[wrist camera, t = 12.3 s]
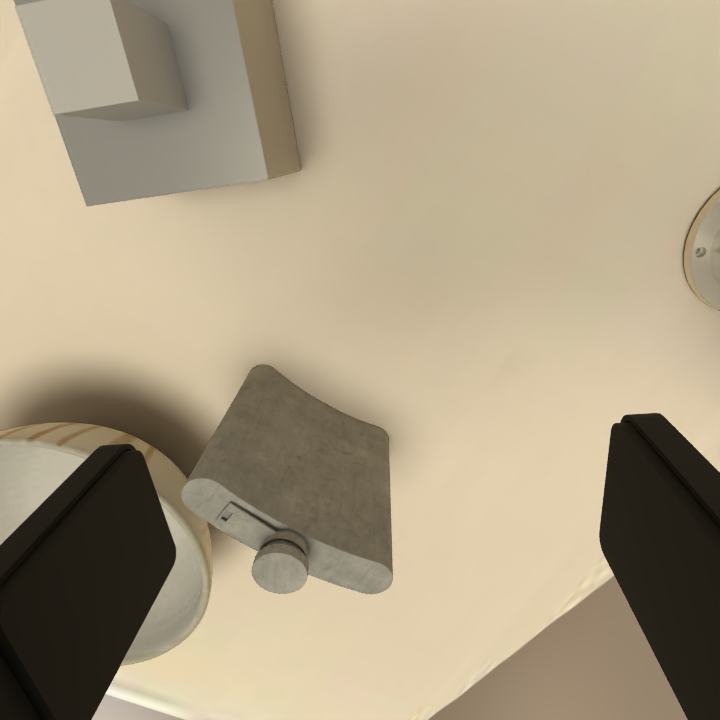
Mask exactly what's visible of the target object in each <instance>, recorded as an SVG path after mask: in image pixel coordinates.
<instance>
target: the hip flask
mask: <svg viewBox="0 0 720 720" xmlns="http://www.w3.org/2000/svg"><path fill="white" fill-rule="evenodd" d="M181 497H182V500H183V502H184V504H185V505H186V507H187V508H188V509H189V510H191V511H192V512H193V513H195V514H196V515H198V516H199V517H201V518H202V519H204V520H205V521H207V522H208V523H210V524H211V525H213V526H214V527H216V528H218V529H219V530H221V531H222V532H224V533H226V534H228V535H229V536H231V537H233V538H234V539H236V540H238V541H240V542H241V543H243V544H245V545H247V546H249V547H251V548H253V549H255V550H256V551H258V553H257V555H256V556H255V560H254V562H253V566H252V576H253V578H254V580H255V581H256V583H257V584H258V585H259V586H260V587H262V588H263V589H265V590H267V591H269V592H273V593H278V594H287V593H292V592H295V591H297V590H299V589H300V588H302V587H303V585H304V584H305V583H306V581H307V576H308V574H309V575H311V576H314V577H316V578H319V579H321V580H324V581H327V582H330V583H332V584H335V585H338V586H341V587H345V588H348V589H351V590H354V591H358V592H361V593H365V594H377V593H380V592H383V591H385V590H386V589H388V588H389V587H390V585H391V584H392V581H393V568H392V534H391V501H390V467H389V438H388V435H387V433H386V432H385V431H384V430H383V429H382V428H380V427H377V426H374V425H371V424H368V423H365V422H363V421H360V420H358V419H355V418H353V417H351V416H348V415H346V414H344V413H342V412H340V411H338V410H336V409H334V408H332V407H330V406H328V405H327V404H325V403H323V402H321V401H320V400H318V399H316V398H314V397H313V396H311V395H309V394H308V393H306V392H305V391H303V390H302V389H300V388H299V387H297V386H296V385H294V384H293V383H292V382H290V381H289V380H288V379H286V378H285V377H284V376H282V375H281V374H280V373H279V372H278V371H276V370H275V369H274V368H273V367H271V366H268V365H258V366H256V367H254V368H253V369H252V370H251V371H250V373H249V374H248V376H247V378H246V380H245V381H244V383H243V385H242V386H241V388H240V390H239V392H238V393H237V395H236V397H235V399H234V400H233V402H232V404H231V405H230V407H229V409H228V411H227V412H226V414H225V416H224V417H223V419H222V421H221V423H220V424H219V426H218V428H217V430H216V431H215V433H214V435H213V436H212V438H211V440H210V442H209V443H208V445H207V447H206V449H205V450H204V452H203V454H202V455H201V457H200V459H199V461H198V462H197V464H196V466H195V468H194V469H193V471H192V473H191V474H190V476H189V478H188V480H187V481H186V483H185V485H184V486H183V489H182V492H181Z"/></svg>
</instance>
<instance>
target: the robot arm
mask: <svg viewBox="0 0 720 720" xmlns="http://www.w3.org/2000/svg"><path fill="white" fill-rule="evenodd" d="M684 270H685V274H686V278H687V281H688V283H689V285H690V287H691V289H692V291H693V292H694V293H695V294H696V295H697V296H698V297H699V299H700V300H702V301H703V302H705V303H706V304H708V305H709V306H711V307H712V308H715V309H717V310H719V311H720V190H719V191H718V192H716V193H715V194H714V195H713V196H712V197H711V198H710V200H709V201H708V202H707V203H706V205H705V206H704V207H703V208H702V210H701V211H700V213H699V214H698V216H697V218H696V220H695V221H694V223H693V225H692V227H691V230H690V232H689V235H688V238H687V240H686V246H685V251H684ZM599 537H600V544H601V548H602V551H603V554H604V556H605V558H606V560H607V562H608V564H609V566H610V568H611V569H612V571H613V573H614V575H615V577H616V579H617V581H618V583H619V585H620V587H621V589H622V591H623V593H624V595H625V597H626V599H627V601H628V603H629V605H630V607H631V609H632V611H633V613H634V615H635V617H636V619H637V621H638V623H639V625H640V626H641V628H642V630H643V632H644V634H645V636H646V638H647V640H648V642H649V644H650V646H651V648H652V650H653V652H654V654H655V656H656V658H657V660H658V662H659V664H660V666H661V668H662V670H663V672H664V674H665V676H666V677H667V680H668V682H669V683H670V686H671V687H672V689H673V691H674V693H675V695H676V697H677V699H678V701H679V703H680V705H681V707H682V709H683V711H684V712H685V715H686V717H687V719H688V720H720V473H719V472H718V471H717V470H716V469H715V468H714V467H713V466H712V465H711V463H710V462H709V461H708V460H707V459H706V458H705V457H704V456H703V455H702V454H701V453H700V452H699V451H698V450H697V449H696V448H695V447H694V446H693V445H692V444H691V443H690V442H689V441H688V440H687V439H686V438H685V437H684V436H683V435H682V434H681V433H680V432H679V431H678V430H677V429H676V428H675V427H674V426H673V425H672V424H671V423H670V422H669V421H668V420H667V419H666V418H665V417H664V416H662V415H661V414H659V413H650V414H633V415H625V416H623V418H622V420H621V423H615V424H613V426H612V429H611V436H610V445H609V453H608V462H607V471H606V480H605V488H604V497H603V506H602V515H601V524H600V533H599ZM175 560H176V546H175V543H174V540H173V538H172V535H171V532H170V529H169V526H168V523H167V520H166V518H165V515H164V512H163V509H162V506H161V503H160V500H159V498H158V495H157V492H156V489H155V486H154V483H153V480H152V478H151V475H150V472H149V469H148V466H147V463H146V461H145V458H144V455H143V453H142V452H141V451H139V450H136V449H135V447H134V446H133V445H131V444H115V445H103V446H100V447H98V448H97V449H96V450H95V451H94V452H93V453H92V454H91V455H90V456H89V457H88V458H87V459H86V460H85V461H84V462H83V463H82V464H81V465H80V466H79V467H78V468H77V469H76V470H75V471H74V472H73V473H72V474H71V475H70V476H69V477H68V478H67V479H66V480H65V481H64V482H63V483H62V484H61V485H60V486H59V487H58V488H57V489H56V490H55V491H54V492H53V493H52V494H51V495H50V496H49V497H48V498H47V499H46V500H45V501H44V502H43V503H42V504H41V505H40V506H39V507H38V508H37V509H36V510H35V511H34V512H33V513H32V514H31V515H30V516H29V517H28V518H27V519H26V520H25V521H24V522H23V523H22V524H21V525H20V526H19V527H18V528H17V529H16V530H15V531H14V532H13V533H12V534H11V535H10V536H9V537H8V538H7V539H6V540H5V541H4V542H3V543H2V544H1V545H0V720H91V719H92V717H93V715H94V714H95V712H96V710H97V708H98V706H99V704H100V703H101V701H102V699H103V697H104V695H105V693H106V691H107V689H108V688H109V686H110V684H111V682H112V680H113V678H114V676H115V674H116V673H117V671H118V669H119V667H120V665H121V663H122V661H123V660H124V658H125V656H126V654H127V652H128V650H129V648H130V646H131V645H132V643H133V641H134V639H135V637H136V635H137V633H138V632H139V630H140V628H141V626H142V624H143V622H144V620H145V618H146V617H147V615H148V613H149V611H150V609H151V607H152V605H153V603H154V602H155V600H156V598H157V596H158V594H159V592H160V590H161V589H162V587H163V585H164V583H165V581H166V579H167V577H168V575H169V574H170V572H171V570H172V568H173V566H174V564H175Z"/></svg>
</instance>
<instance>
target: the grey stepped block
mask: <svg viewBox="0 0 720 720" xmlns="http://www.w3.org/2000/svg"><path fill="white" fill-rule="evenodd" d="M14 2H15V5H16V6H15V8H16V11H17V14H18V17H19V20H20V22H21V25H22V28H23V31H24V34H25V37H26V39H27V42H28V45H29V48H30V51H31V53H32V56H33V59H34V62H35V65H36V68H37V70H38V73H39V76H40V79H41V82H42V85H43V87H44V90H45V93H46V96H47V99H48V102H49V104H50V107H51V110H52V113H53V115H55V118H56V121H57V124H58V126H59V129H60V132H61V135H62V138H63V141H64V143H65V146H66V149H67V152H68V155H69V158H70V160H71V163H72V166H73V169H74V172H75V175H76V177H77V180H78V183H79V186H80V189H81V192H82V194H83V197H84V200H85V203H86V206H93V205H100V204H106V203H113V202H120V201H127V200H133V199H140V198H147V197H154V196H160V195H167V194H174V193H181V192H187V191H194V190H201V189H208V188H214V187H221V186H228V185H235V184H241V183H248V182H255V181H262V180H268V179H272V178H275V177H279V176H282V175H286V174H289V173H293V172H296V171H300V170H301V166H300V160H299V154H298V149H297V143H296V137H295V131H294V126H293V120H292V114H291V108H290V103H289V97H288V91H287V86H286V80H285V74H284V68H283V63H282V57H281V51H280V45H279V40H278V34H277V28H276V23H275V17H274V11H273V5H272V0H14Z"/></svg>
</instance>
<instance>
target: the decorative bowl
mask: <svg viewBox="0 0 720 720" xmlns="http://www.w3.org/2000/svg"><path fill="white" fill-rule="evenodd" d="M115 444H131V445H133V446H134V447H135V449H136V450H139V451H141V452H142V453H143V455H144V458H145V461H146V463H147V466H148V469H149V472H150V475H151V478H152V480H153V483H154V486H155V489H156V492H157V495H158V498H159V500H160V503H161V506H162V509H163V512H164V515H165V518H166V520H167V523H168V526H169V529H170V532H171V535H172V538H173V540H174V543H175V546H176V560H175V564H174V566H173V568H172V570H171V572H170V574H169V575H168V577H167V579H166V581H165V583H164V585H163V587H162V589H161V590H160V592H159V594H158V596H157V598H156V600H155V602H154V603H153V605H152V607H151V609H150V611H149V613H148V615H147V617H146V618H145V620H144V622H143V624H142V626H141V628H140V630H139V632H138V633H137V635H136V637H135V639H134V641H133V643H132V645H131V646H130V648H129V650H128V652H127V654H126V656H125V658H124V660H123V661H122V663H121V665H120V666H123V665H129V664H134V663H139V662H143V661H146V660H149V659H152V658H155V657H157V656H160V655H162V654H164V653H166V652H168V651H169V650H171V649H173V648H175V647H176V646H177V645H179V644H180V643H181V642H183V641H184V640H185V639H186V638H187V637H188V636H189V635H190V634H191V633H192V632H193V631H194V629H195V628H196V627H197V625H198V624H199V622H200V621H201V619H202V617H203V615H204V613H205V611H206V608H207V605H208V601H209V597H210V592H211V585H212V545H211V538H210V532H209V527H208V523H207V521H205V520H204V519H202V518H201V517H199V516H198V515H196V514H195V513H193V512H192V511H191V510H189V509H188V508H187V507H186V505H185V504H184V502H183V500H182V497H181V492H182V489H183V486H184V485H185V483H186V481H187V480H188V479H187V478H186V477H185V475H184V474H183V473H182V472H181V471H180V469H179V468H178V467H177V466H176V465H175V464H174V463H173V462H172V461H171V460H170V459H169V458H167V457H166V456H165V455H164V454H163V453H161V452H160V451H159V450H157V449H156V448H154V447H153V446H151V445H150V444H148V443H146V442H144V441H143V440H141V439H139V438H137V437H134V436H132V435H130V434H127V433H124V432H122V431H118V430H115V429H112V428H108V427H104V426H98V425H93V424H84V423H69V422H59V423H42V424H33V425H27V426H21V427H15V428H11V429H7V430H3V431H0V545H1V544H2V543H3V542H4V541H5V540H6V539H7V538H8V537H9V536H10V535H11V534H12V533H13V532H14V531H15V530H16V529H17V528H18V527H19V526H20V525H21V524H22V523H23V522H24V521H25V520H26V519H27V518H28V517H29V516H30V515H31V514H32V513H33V512H34V511H35V510H36V509H37V508H38V507H39V506H40V505H41V504H42V503H43V502H44V501H45V500H46V499H47V498H48V497H49V496H50V495H51V494H52V493H53V492H54V491H55V490H56V489H57V488H58V487H59V486H60V485H61V484H62V483H63V482H64V481H65V480H66V479H67V478H68V477H69V476H70V475H71V474H72V473H73V472H74V471H75V470H76V469H77V468H78V467H79V466H80V465H81V464H82V463H83V462H84V461H85V460H86V459H87V458H88V457H89V456H90V455H91V454H92V453H93V452H94V451H95V450H96V449H97V448H98V447H100V446H103V445H115Z"/></svg>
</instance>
